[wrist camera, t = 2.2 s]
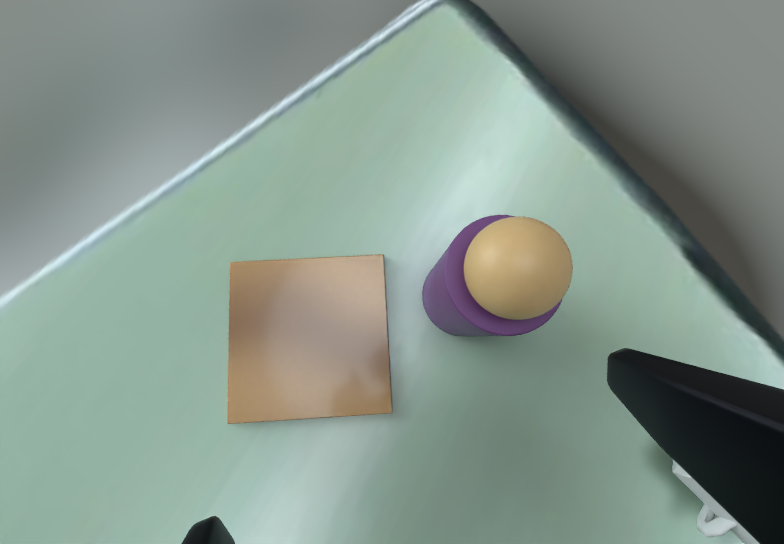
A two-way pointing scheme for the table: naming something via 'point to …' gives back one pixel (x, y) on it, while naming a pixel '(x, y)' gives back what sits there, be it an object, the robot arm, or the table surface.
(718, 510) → the stamp
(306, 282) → the cork coaster
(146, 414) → the table surface
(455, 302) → the peg doll toy
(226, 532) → the robot arm
